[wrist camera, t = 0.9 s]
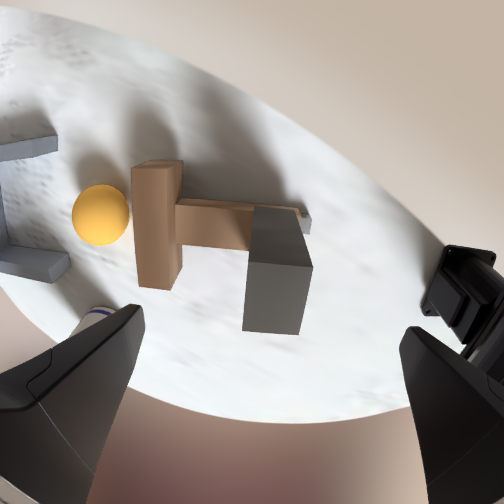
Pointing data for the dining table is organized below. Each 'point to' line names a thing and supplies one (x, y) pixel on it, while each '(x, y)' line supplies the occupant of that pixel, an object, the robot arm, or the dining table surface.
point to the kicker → (222, 244)
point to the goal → (3, 254)
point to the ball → (100, 215)
